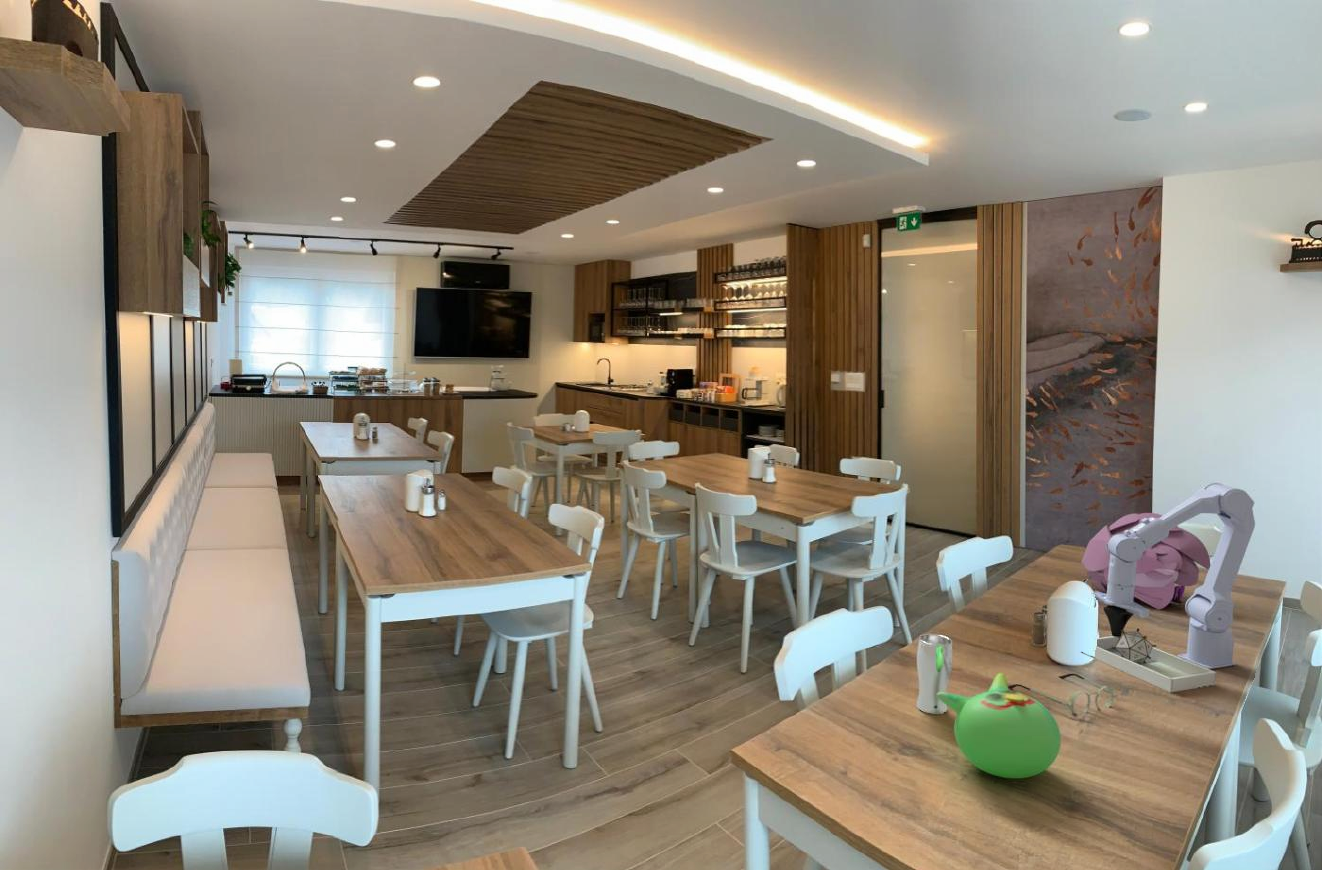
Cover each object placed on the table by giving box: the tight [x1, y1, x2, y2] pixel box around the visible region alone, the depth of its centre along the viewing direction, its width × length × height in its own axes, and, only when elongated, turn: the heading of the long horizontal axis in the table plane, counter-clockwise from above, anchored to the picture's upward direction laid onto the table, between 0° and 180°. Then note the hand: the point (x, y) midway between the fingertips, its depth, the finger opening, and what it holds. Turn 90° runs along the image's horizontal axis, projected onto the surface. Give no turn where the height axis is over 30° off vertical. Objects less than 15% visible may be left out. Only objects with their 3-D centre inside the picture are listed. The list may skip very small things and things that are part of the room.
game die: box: [1111, 628, 1157, 664], centre depth 181 cm, size 9×8×10 cm
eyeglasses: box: [1007, 673, 1119, 715], centre depth 163 cm, size 17×15×5 cm
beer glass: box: [915, 633, 953, 715], centre depth 155 cm, size 7×7×15 cm
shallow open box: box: [1094, 635, 1217, 693], centre depth 179 cm, size 14×24×3 cm, turn 18°
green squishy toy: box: [936, 672, 1062, 779], centre depth 133 cm, size 18×17×15 cm
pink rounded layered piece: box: [1080, 512, 1211, 610], centre depth 233 cm, size 35×24×28 cm
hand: (1116, 636), depth 186 cm, fingers closed
